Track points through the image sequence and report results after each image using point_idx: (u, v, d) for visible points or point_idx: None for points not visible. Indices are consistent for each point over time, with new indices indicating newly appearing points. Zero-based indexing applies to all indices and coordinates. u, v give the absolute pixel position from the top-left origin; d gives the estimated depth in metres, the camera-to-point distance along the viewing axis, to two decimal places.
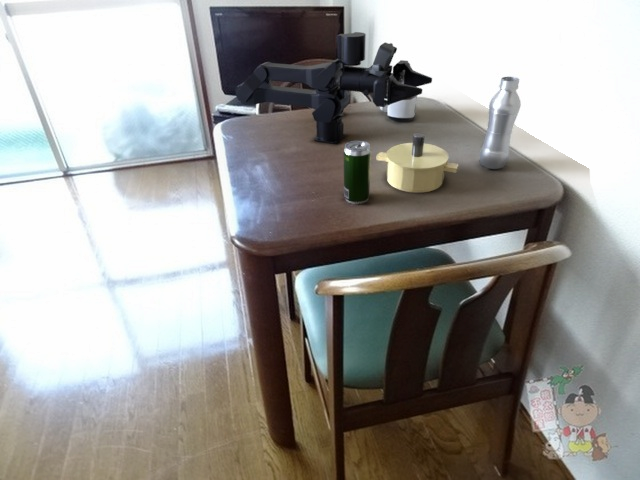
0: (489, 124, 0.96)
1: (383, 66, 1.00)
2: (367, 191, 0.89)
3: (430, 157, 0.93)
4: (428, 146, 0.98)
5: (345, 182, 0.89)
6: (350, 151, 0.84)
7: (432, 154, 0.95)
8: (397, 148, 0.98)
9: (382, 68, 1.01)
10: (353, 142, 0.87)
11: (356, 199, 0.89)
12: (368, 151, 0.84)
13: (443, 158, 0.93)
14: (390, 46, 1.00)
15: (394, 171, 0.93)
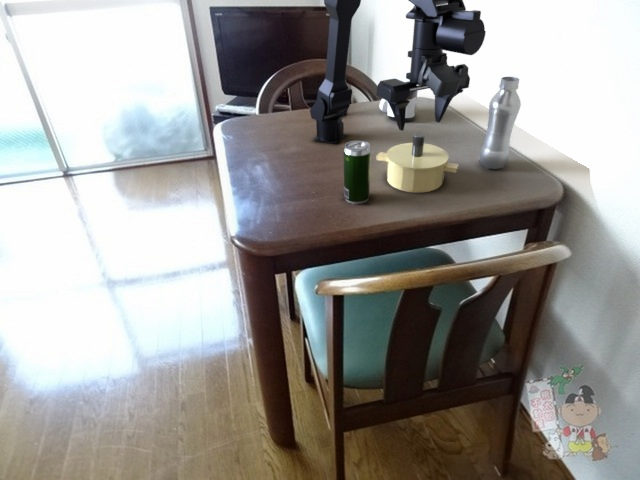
0: (489, 124, 0.96)
1: (427, 83, 0.82)
2: (367, 191, 0.89)
3: (430, 157, 0.93)
4: (428, 146, 0.98)
5: (345, 182, 0.89)
6: (350, 151, 0.84)
7: (432, 154, 0.95)
8: (397, 148, 0.98)
9: (426, 81, 0.82)
10: (353, 142, 0.87)
11: (356, 199, 0.89)
12: (368, 151, 0.84)
13: (443, 158, 0.93)
14: (452, 89, 0.80)
15: (394, 171, 0.93)
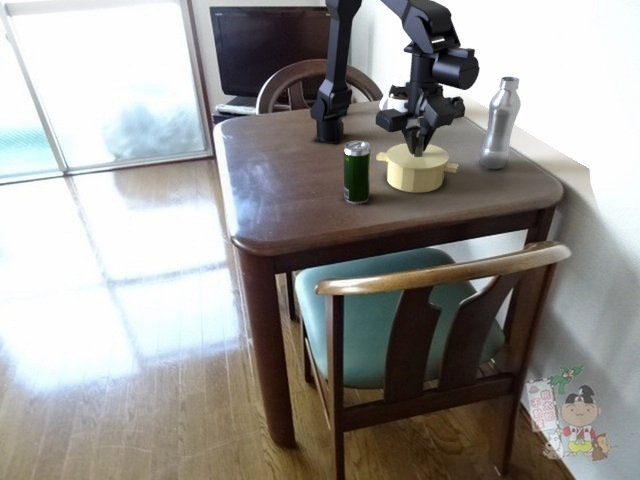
0: (489, 124, 0.96)
1: (424, 115, 0.85)
2: (367, 191, 0.89)
3: (430, 157, 0.93)
4: (428, 146, 0.98)
5: (345, 182, 0.89)
6: (350, 151, 0.84)
7: (432, 154, 0.95)
8: (397, 148, 0.98)
9: (423, 112, 0.85)
10: (353, 142, 0.87)
11: (356, 199, 0.89)
12: (368, 151, 0.84)
13: (443, 158, 0.93)
14: (447, 121, 0.83)
15: (394, 171, 0.93)
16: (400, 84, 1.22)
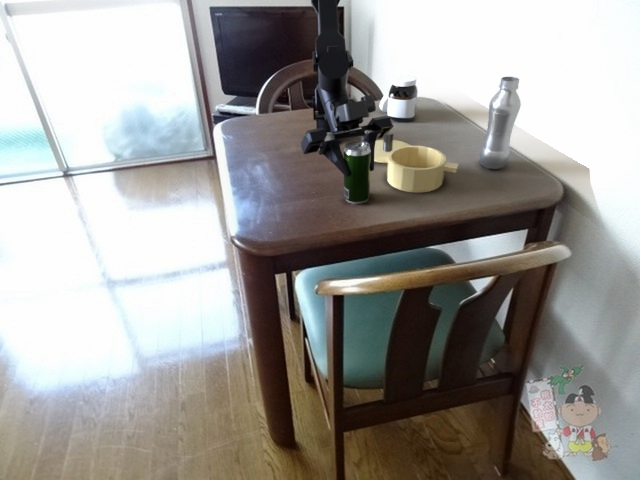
0: (489, 124, 0.96)
1: (340, 120, 0.84)
2: (367, 191, 0.89)
3: None
4: (398, 143, 1.13)
5: (345, 182, 0.89)
6: (350, 151, 0.84)
7: None
8: None
9: (339, 120, 0.85)
10: (353, 142, 0.87)
11: (356, 199, 0.89)
12: (368, 151, 0.84)
13: None
14: (360, 111, 0.81)
15: (394, 171, 0.93)
16: (400, 84, 1.22)
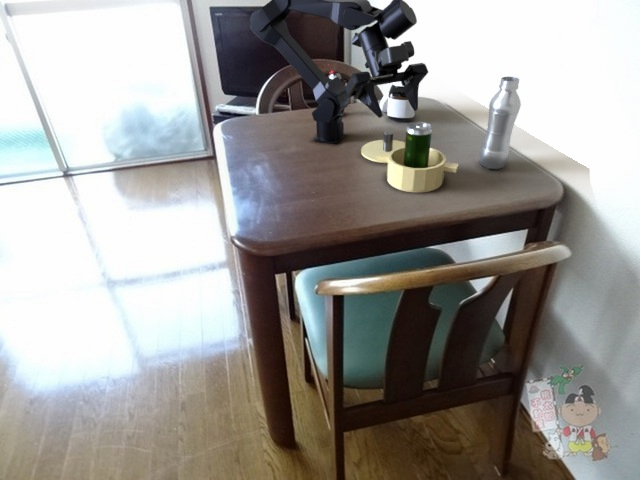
0: (489, 124, 0.96)
1: (382, 64, 0.94)
2: None
3: None
4: (398, 143, 1.13)
5: (406, 161, 0.95)
6: (413, 131, 0.90)
7: None
8: (371, 144, 1.13)
9: (381, 64, 0.95)
10: (415, 123, 0.93)
11: None
12: (430, 131, 0.90)
13: None
14: (401, 54, 0.91)
15: (394, 171, 0.93)
16: (400, 84, 1.22)
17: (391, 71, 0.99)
